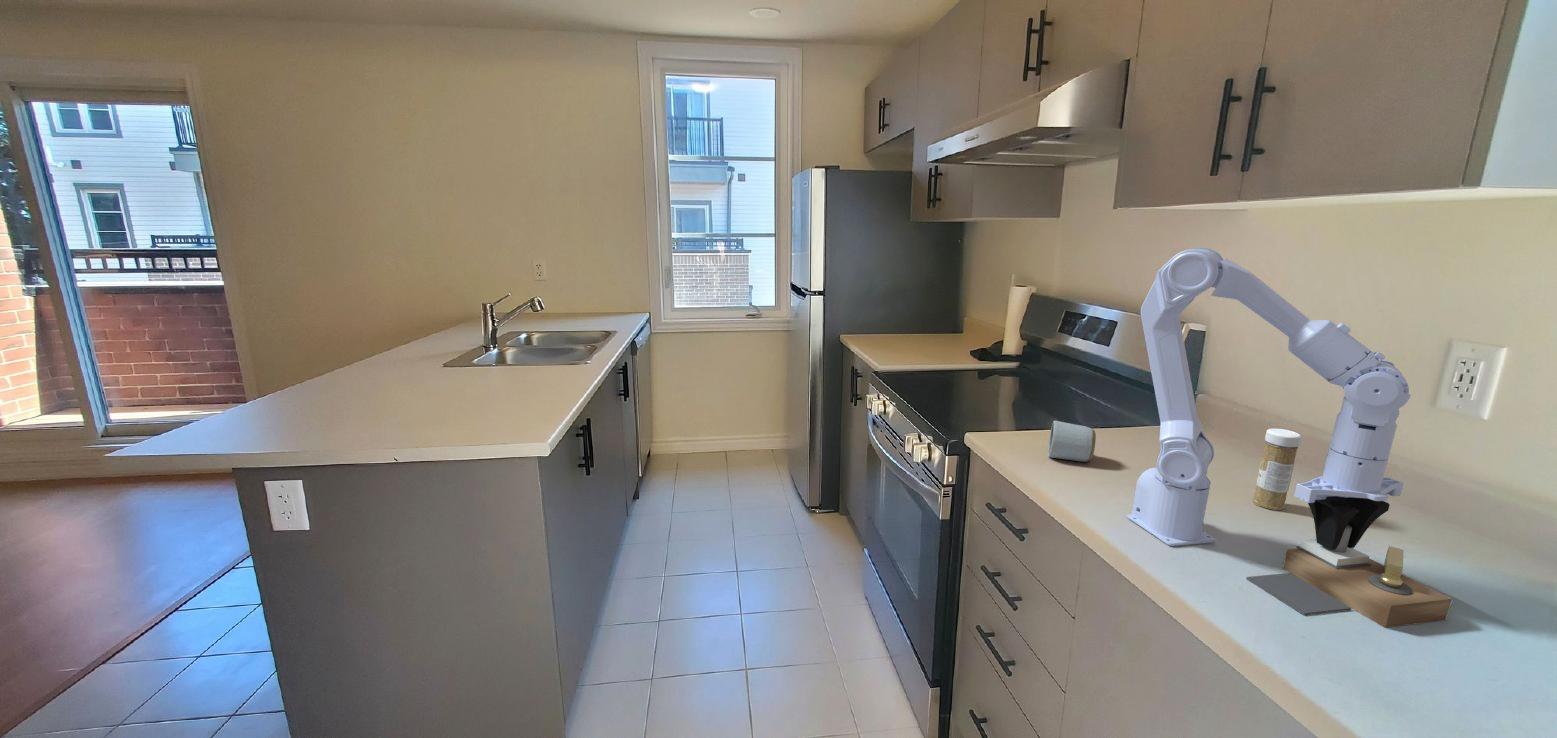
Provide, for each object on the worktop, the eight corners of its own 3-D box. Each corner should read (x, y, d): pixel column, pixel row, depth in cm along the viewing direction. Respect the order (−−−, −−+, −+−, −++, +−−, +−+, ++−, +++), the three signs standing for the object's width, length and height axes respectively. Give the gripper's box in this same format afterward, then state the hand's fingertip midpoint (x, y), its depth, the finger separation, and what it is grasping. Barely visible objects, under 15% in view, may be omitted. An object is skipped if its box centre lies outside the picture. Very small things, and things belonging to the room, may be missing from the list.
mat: (1246, 578, 83) (1246, 576, 83) (1289, 574, 84) (1290, 572, 84) (1303, 615, 76) (1304, 613, 76) (1350, 609, 77) (1351, 607, 77)
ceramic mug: (1093, 468, 121) (1098, 431, 119) (1048, 462, 124) (1053, 426, 122) (1087, 450, 131) (1091, 416, 129) (1046, 445, 133) (1050, 412, 132)
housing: (1281, 567, 86) (1285, 547, 85) (1334, 562, 88) (1339, 542, 87) (1385, 627, 74) (1391, 604, 73) (1445, 620, 75) (1452, 597, 74)
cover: (1299, 546, 86) (1306, 517, 84) (1329, 543, 86) (1336, 515, 85) (1336, 565, 81) (1343, 535, 80) (1367, 562, 82) (1375, 532, 80)
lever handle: (1401, 590, 75) (1406, 571, 75) (1378, 583, 77) (1383, 565, 76) (1401, 568, 80) (1406, 550, 80) (1380, 562, 82) (1385, 544, 81)
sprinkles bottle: (1253, 496, 108) (1268, 425, 105) (1286, 504, 105) (1302, 431, 102) (1250, 505, 105) (1265, 432, 102) (1284, 513, 102) (1300, 438, 99)
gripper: (1343, 467, 75) (1319, 565, 78) (1439, 460, 77) (1412, 556, 80) (1288, 446, 82) (1268, 537, 85) (1378, 441, 84) (1355, 530, 87)
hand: (1335, 545), depth 83 cm, fingers closed on cover, 2 cm apart
